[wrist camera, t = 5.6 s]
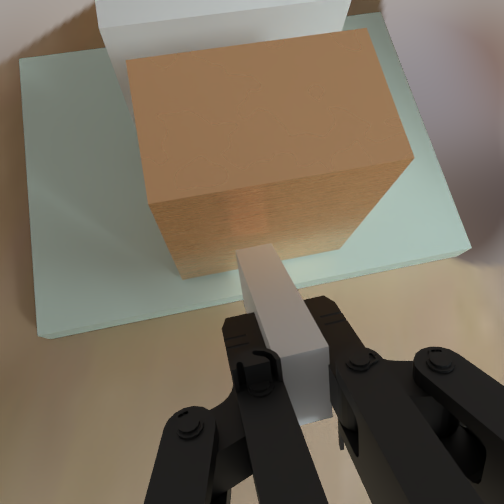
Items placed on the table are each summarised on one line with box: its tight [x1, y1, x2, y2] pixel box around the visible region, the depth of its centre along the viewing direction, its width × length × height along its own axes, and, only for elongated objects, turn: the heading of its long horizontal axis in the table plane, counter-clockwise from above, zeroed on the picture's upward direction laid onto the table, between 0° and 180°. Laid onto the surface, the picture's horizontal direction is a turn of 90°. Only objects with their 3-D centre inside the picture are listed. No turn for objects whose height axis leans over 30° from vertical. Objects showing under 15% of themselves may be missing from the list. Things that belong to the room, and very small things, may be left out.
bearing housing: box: [19, 0, 472, 339], centre depth 20 cm, size 22×16×9 cm
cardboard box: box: [126, 28, 415, 280], centre depth 18 cm, size 8×13×9 cm, turn 12°
